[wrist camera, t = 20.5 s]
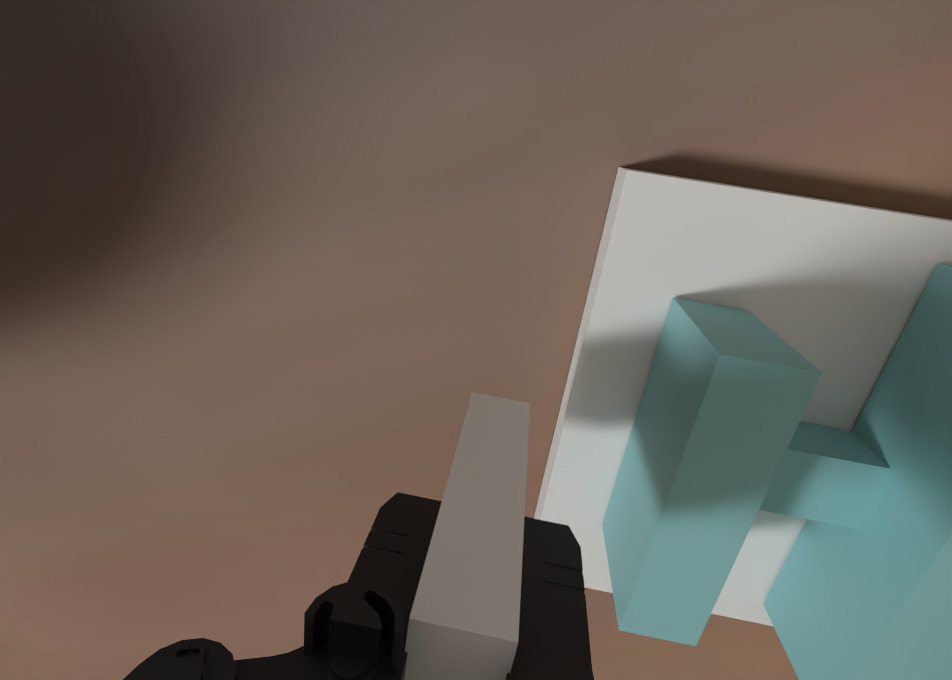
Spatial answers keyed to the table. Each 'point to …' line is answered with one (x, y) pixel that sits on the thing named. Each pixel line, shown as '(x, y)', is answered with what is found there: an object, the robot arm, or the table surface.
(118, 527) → the table surface
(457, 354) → the table surface
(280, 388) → the table surface
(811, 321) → the bed
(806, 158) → the table surface
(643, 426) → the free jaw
